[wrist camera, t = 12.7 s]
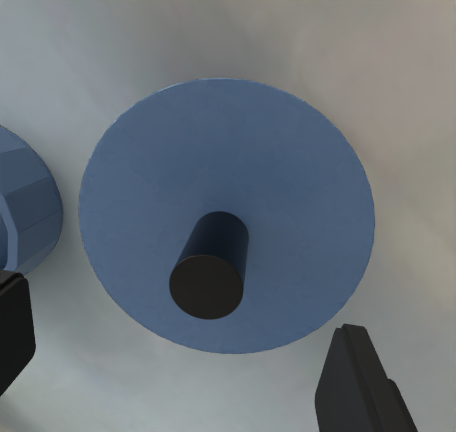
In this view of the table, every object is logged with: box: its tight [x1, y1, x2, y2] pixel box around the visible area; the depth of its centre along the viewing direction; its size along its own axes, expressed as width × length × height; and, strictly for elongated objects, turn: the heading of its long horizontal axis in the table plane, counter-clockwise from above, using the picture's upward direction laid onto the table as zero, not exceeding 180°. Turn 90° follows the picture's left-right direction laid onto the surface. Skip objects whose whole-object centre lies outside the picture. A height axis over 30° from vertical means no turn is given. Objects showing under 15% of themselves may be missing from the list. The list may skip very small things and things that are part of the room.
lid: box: [79, 78, 375, 354], centre depth 16 cm, size 16×16×6 cm
